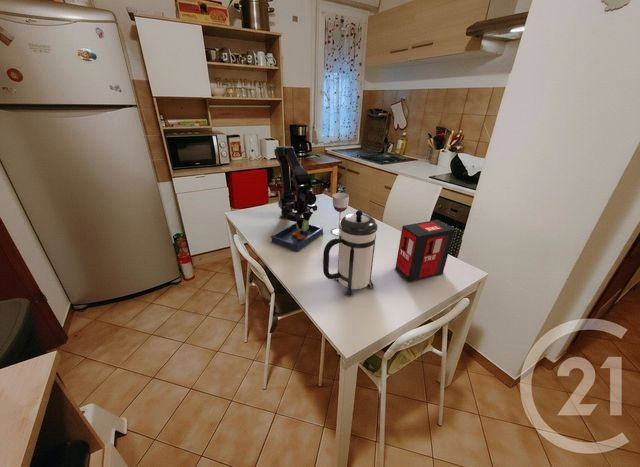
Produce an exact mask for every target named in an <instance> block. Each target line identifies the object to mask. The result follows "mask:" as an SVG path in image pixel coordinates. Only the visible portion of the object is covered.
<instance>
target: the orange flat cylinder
mask: <svg viewBox="0 0 640 467" xmlns="http://www.w3.org/2000/svg"><path fill="white" fill-rule="evenodd" d="M298 235H300V232H293V233H292V236H293V237H297V236H298Z"/></svg>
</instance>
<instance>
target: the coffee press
mask: <svg viewBox="0 0 640 467" xmlns="http://www.w3.org/2000/svg"><path fill="white" fill-rule="evenodd" d="M339 228H340V233H339V235H338V238H333V239H331V240H330V241H328V242H327V243H326V244H325V246H324V249H323V255H322V272H323V275H324V277H325V278H326V279H328V280H335V281H338V282H339V283H340V284H341V285H342V286H343V287H345V288H346V293H345V294H346V295H347V296H351V294H352V290H361V289H363V288H366V287H367V288H369V289H370V290H372V289H373V288H374V283H373V282H372V274H373V264H374V257H375V247H376V239H377V235H376V233H377V231H378V228H379V226H378V223H377V222H376V220H375V219H374V218H373V217H372V216H370V215H369V214H365V213H363V211H362V210H360V209H358V210H356V212H355V213H350V214H347V215H345V216H344V217H342V218H341V221H340V223H339V222H338V229H339ZM336 245H338V257H337V258H338V260H337V272H336V273H330V270H329V269H330V252H331V249H332V247H334V246H336Z"/></svg>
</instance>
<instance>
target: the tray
mask: <svg viewBox="0 0 640 467" xmlns="http://www.w3.org/2000/svg"><path fill="white" fill-rule="evenodd" d="M293 232H300V235H304V236H305V239H304V240H302V241H300V240H297V237H293V236H292V233H293ZM323 234H324V227H321V226H318V225H314V224H312V223H309V229H308V230H306V231H301V230H298V229H297V225H296V222H293V223H292V224H291V225H289V226H287V227H285V228H284V229H282V230H280V231H278V232H276V233H275V234H272V235H271V243H273V244H275V245H278V246H280V247H282V248H283V247H284V248H286V249H288V250H291V251H294V252H296V253H297V252H299V251H301V250H302V249H303V248H305V247H306V246H307V245H309V244H311V243H312V242H314V241H315V240H316V239H317V238H319V237H320V236H321V235H323Z"/></svg>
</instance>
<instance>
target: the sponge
mask: <svg viewBox="0 0 640 467" xmlns="http://www.w3.org/2000/svg"><path fill="white" fill-rule="evenodd" d="M295 223H296V225H297V222H295ZM309 224H310V220H309V221H308V220H303V224H302V228H301V229H299V227H298V225H297V229H298V230H301V231H306V230H308V229H309Z"/></svg>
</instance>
